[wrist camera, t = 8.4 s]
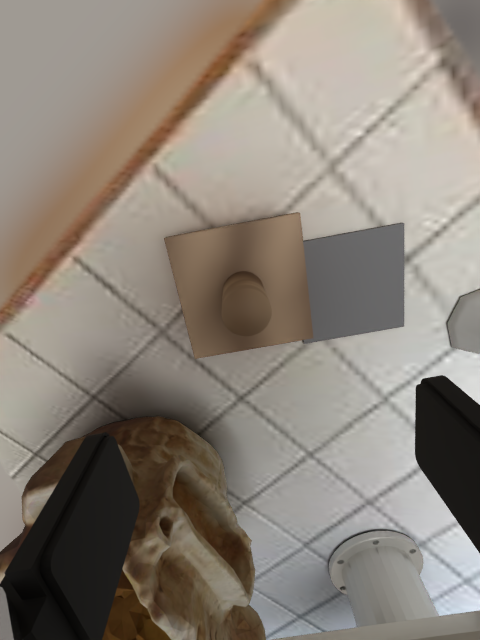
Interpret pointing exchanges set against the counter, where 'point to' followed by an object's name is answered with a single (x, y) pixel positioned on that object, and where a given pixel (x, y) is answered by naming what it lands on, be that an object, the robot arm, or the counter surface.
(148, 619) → the ceramic vessel
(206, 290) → the lid
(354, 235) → the mat
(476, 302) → the flask
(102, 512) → the robot arm
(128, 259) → the counter surface
